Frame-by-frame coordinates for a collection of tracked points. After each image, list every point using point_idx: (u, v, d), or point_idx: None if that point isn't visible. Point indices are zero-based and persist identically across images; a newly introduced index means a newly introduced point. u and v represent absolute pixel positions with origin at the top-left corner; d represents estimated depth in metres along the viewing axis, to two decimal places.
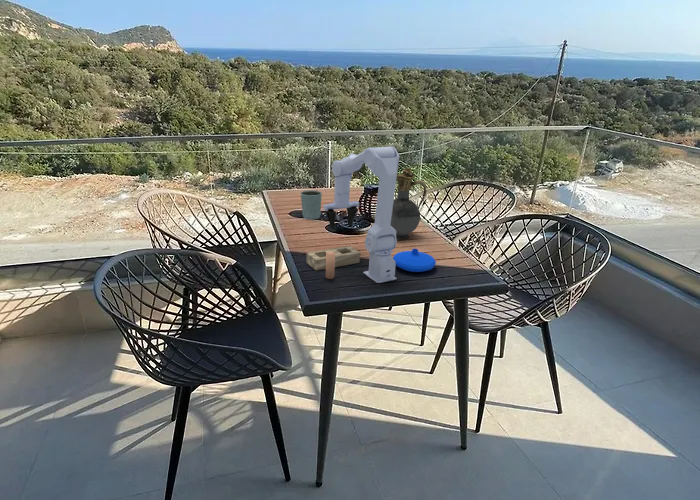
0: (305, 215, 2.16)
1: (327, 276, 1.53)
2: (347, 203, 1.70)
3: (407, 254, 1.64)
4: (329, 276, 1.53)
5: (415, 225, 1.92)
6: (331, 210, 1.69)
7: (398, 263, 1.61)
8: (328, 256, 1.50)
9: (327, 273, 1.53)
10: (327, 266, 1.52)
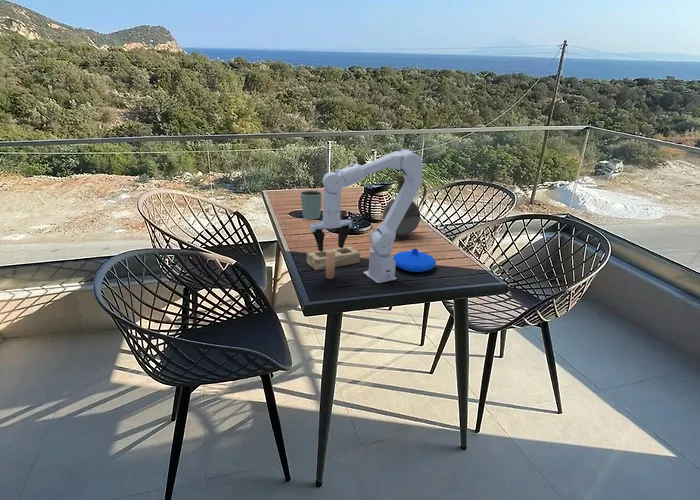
0: (305, 215, 2.16)
1: (327, 276, 1.53)
2: (338, 222, 1.46)
3: (407, 254, 1.64)
4: (329, 276, 1.53)
5: (415, 225, 1.92)
6: (319, 231, 1.45)
7: (398, 263, 1.61)
8: (328, 256, 1.50)
9: (327, 273, 1.53)
10: (327, 266, 1.52)
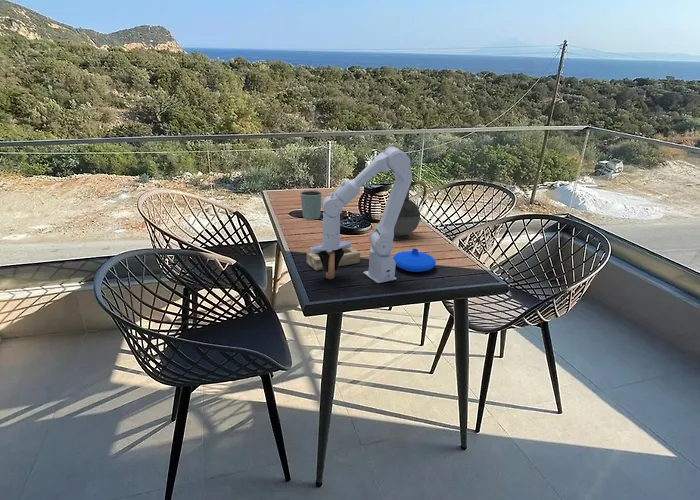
0: (305, 215, 2.16)
1: (327, 276, 1.53)
2: (337, 245, 1.49)
3: (407, 254, 1.64)
4: (329, 276, 1.53)
5: (415, 225, 1.92)
6: (324, 252, 1.49)
7: (398, 263, 1.61)
8: None
9: (327, 273, 1.53)
10: None
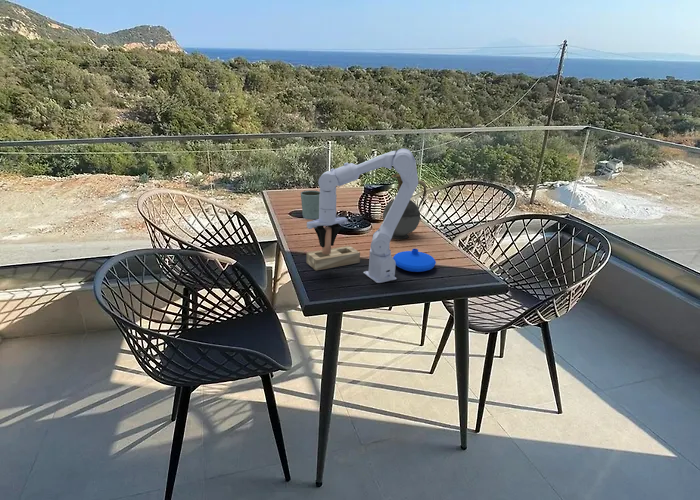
0: (305, 215, 2.16)
1: (323, 251, 1.55)
2: (333, 220, 1.51)
3: (407, 254, 1.64)
4: (325, 251, 1.55)
5: (415, 225, 1.92)
6: (321, 227, 1.51)
7: (398, 263, 1.60)
8: None
9: (324, 248, 1.55)
10: None
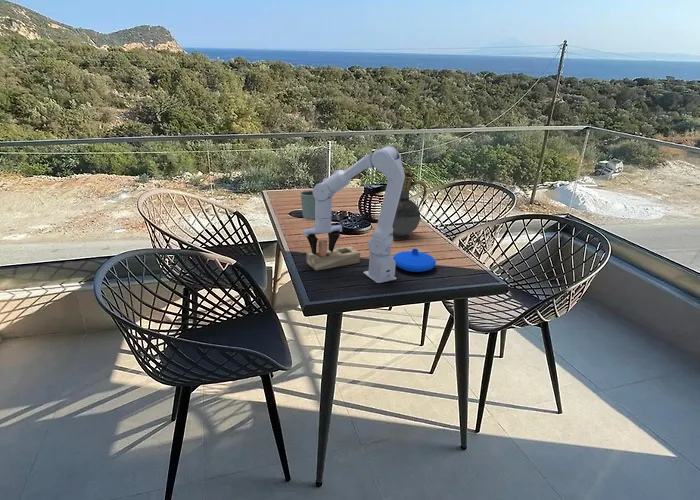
0: (305, 215, 2.16)
1: None
2: (329, 228, 1.58)
3: (407, 254, 1.64)
4: None
5: (415, 225, 1.92)
6: (312, 235, 1.58)
7: (398, 263, 1.60)
8: (320, 244, 1.61)
9: None
10: (319, 254, 1.62)
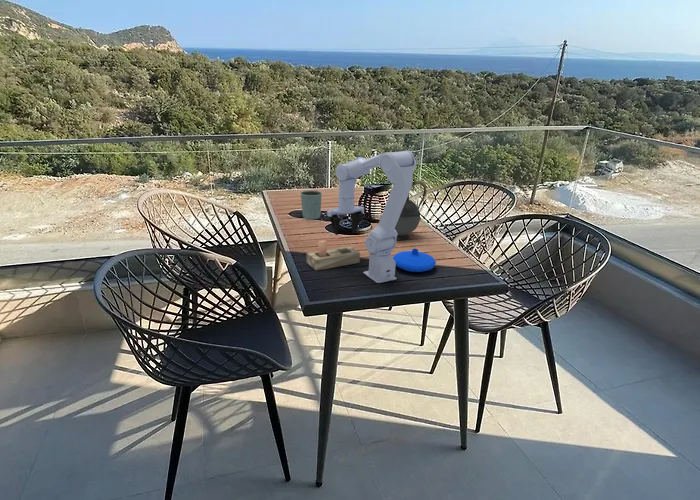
0: (305, 215, 2.16)
1: None
2: (352, 208, 1.62)
3: (407, 254, 1.64)
4: None
5: (415, 225, 1.92)
6: (335, 216, 1.61)
7: (398, 263, 1.60)
8: (320, 244, 1.60)
9: None
10: (319, 254, 1.62)
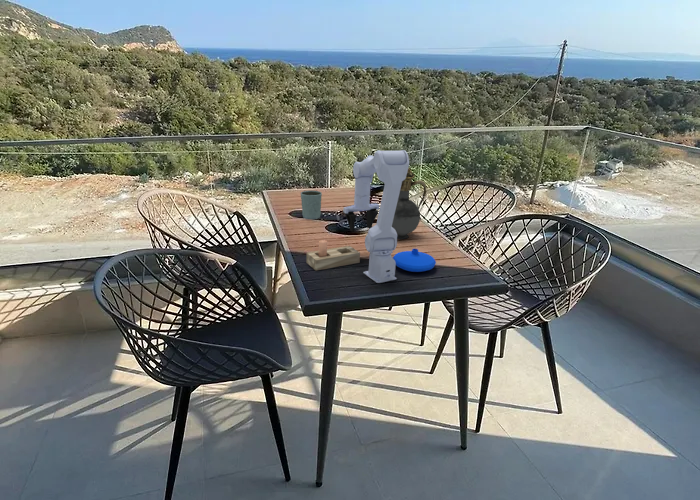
0: (305, 215, 2.16)
1: None
2: (367, 205, 1.67)
3: (407, 254, 1.64)
4: None
5: (415, 225, 1.92)
6: (351, 213, 1.66)
7: (398, 263, 1.60)
8: (320, 244, 1.60)
9: None
10: (320, 254, 1.62)
